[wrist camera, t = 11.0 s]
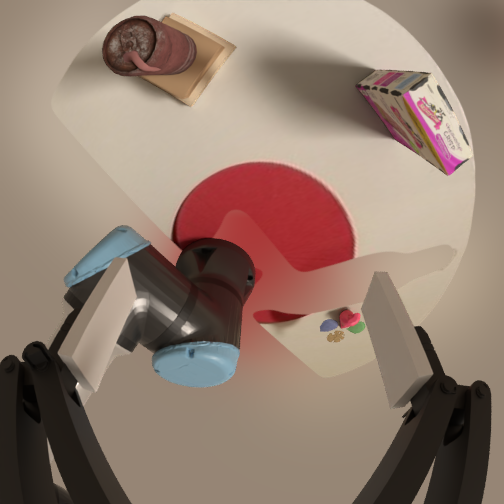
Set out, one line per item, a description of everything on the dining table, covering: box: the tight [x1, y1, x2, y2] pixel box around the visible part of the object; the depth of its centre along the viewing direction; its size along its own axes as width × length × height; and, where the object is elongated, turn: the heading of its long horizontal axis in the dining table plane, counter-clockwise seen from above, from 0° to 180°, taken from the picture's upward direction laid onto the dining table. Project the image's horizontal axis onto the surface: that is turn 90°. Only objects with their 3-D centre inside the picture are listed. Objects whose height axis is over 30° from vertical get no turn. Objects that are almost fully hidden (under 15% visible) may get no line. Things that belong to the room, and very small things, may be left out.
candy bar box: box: [356, 70, 473, 176], centre depth 29 cm, size 11×5×16 cm, turn 45°
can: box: [102, 16, 197, 76], centre depth 23 cm, size 6×6×14 cm
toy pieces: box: [320, 310, 365, 342], centre depth 61 cm, size 12×11×4 cm
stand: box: [139, 13, 236, 107], centre depth 31 cm, size 11×11×5 cm
